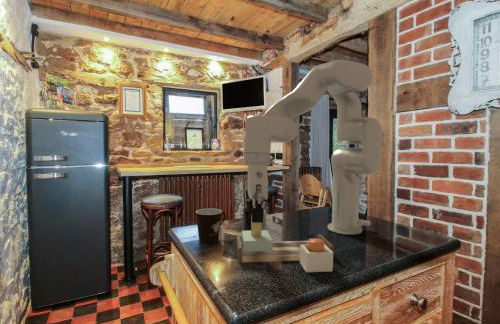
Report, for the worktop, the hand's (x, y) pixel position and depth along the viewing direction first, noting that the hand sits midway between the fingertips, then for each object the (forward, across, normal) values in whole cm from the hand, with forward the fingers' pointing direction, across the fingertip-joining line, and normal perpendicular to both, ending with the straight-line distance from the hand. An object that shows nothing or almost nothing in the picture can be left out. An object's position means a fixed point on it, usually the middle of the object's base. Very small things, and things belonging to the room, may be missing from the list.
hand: (255, 217), depth 80 cm
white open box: (+11, -9, -16) cm, 21 cm away
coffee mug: (+12, +13, +12) cm, 22 cm away
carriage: (+8, 0, -1) cm, 8 cm away
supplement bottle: (+11, +21, -2) cm, 24 cm away
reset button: (+7, -9, -16) cm, 19 cm away
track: (+11, 0, -9) cm, 14 cm away
